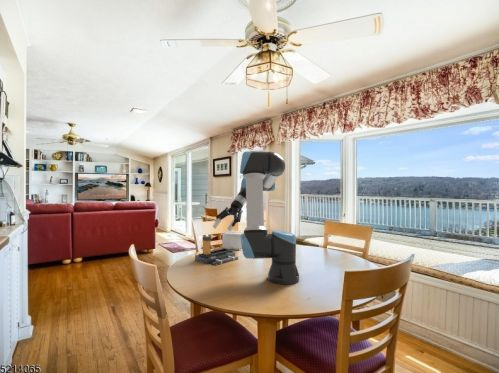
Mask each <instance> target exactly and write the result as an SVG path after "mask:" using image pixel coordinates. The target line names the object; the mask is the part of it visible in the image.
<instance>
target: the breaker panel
mask: <svg viewBox="0 0 499 373" xmlns="http://www.w3.org/2000/svg"><path fill="white" fill-rule="evenodd" d="M202 253H203V252H202ZM202 253H198V254H195V257H194V258H195V262H199V263H202V264H205V265H212V264H211V262H213V261H216V259H218V260H220V259H224V258H228V256H231V257H232V256H236V252H235V251H233V249H225V248H223V247H222V248H219V249H215V250H210V253H211V255H207V256H206V255H202Z"/></svg>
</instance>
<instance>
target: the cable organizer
mask: <svg viewBox="0 0 499 373" xmlns="http://www.w3.org/2000/svg"><path fill="white" fill-rule="evenodd" d="M241 234H244V230H243V231H241V230H231V231H229V230H227V231H226V232H224V233H222V239H221V242H222V244H221V245H222V249H223V248H225V249H230V250H234V249H235V251H239V250H242V245H241Z"/></svg>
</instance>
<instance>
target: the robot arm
mask: <svg viewBox="0 0 499 373" xmlns="http://www.w3.org/2000/svg"><path fill="white" fill-rule="evenodd" d="M240 160H241V161H240V167H239V174H241V175H242V180H241V182H240V189H239V192H238V193H237V195H236V196H235V197H234V198H233V200H232V202H231V203H230V207H228V206H226V207H225V208H224V209H223V210H222V211H221V212H219V213H218V214H217V215H216V216H215V217H216V220H215V222H214V223H213V225H212V227H213V228H214V229H217V228H218V226H219V224H220V223H221V222H222V221H221V220H223V219H225V218H226V217H228V216H233V219H232V221H231V222H230V223H229V225H228V226H227V231H233V230H232V229H233V228H234V227H235V226H236V224H237V223H241V220H242V213H243V206H245V204H246V206H245V207H246V208H245V209H246V227H245V228H244V230H243V232H244V234H241V245H242V249H241V250H242V251H241V252H242V255H243V256H244V258H245V259H253V260H255V259H271V264H270V268H269V270H268V274H267V279H268V280H269V281H270V282H272V283H273V284H279V285H294V284H297V283H298V282H300V273H299V270H298V267H297V262H296V260H297V259H296V258H297V236H296V235H295V234H294V233H292V232H290V231H286V230H285V231H284V230H278V229H276V230H275V229H274V230H272V231H271V233H268V229H267V228H266V227H265V213H264V212H265V211H264V210H265V209H264V208H265V207H264V192H273V191H275V190H276V181H277V180H278V178H279V177H280V176H282V175H283V174H284V172H285V169H286V162H285V160H284V158H283V157H282V156H281V155H280V154H278V153H277V152H274V151H256V150H255V151H253V150H251V151H250V150H249V151H247V150H246V151H244V152H243V153H242V155H241V159H240Z"/></svg>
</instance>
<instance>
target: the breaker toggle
mask: <svg viewBox="0 0 499 373" xmlns="http://www.w3.org/2000/svg"><path fill="white" fill-rule="evenodd" d="M211 240H212V237H211V236H207V235H206V236H202V255H206V256H207V255H211V253H210V251H211Z"/></svg>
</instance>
